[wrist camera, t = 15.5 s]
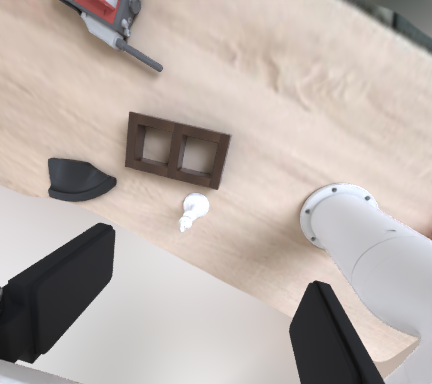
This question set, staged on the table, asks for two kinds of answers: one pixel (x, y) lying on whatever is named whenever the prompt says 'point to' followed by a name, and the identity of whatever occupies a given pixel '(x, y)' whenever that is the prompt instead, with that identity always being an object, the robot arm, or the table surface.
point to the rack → (174, 150)
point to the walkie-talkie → (112, 23)
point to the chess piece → (193, 209)
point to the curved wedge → (77, 180)
